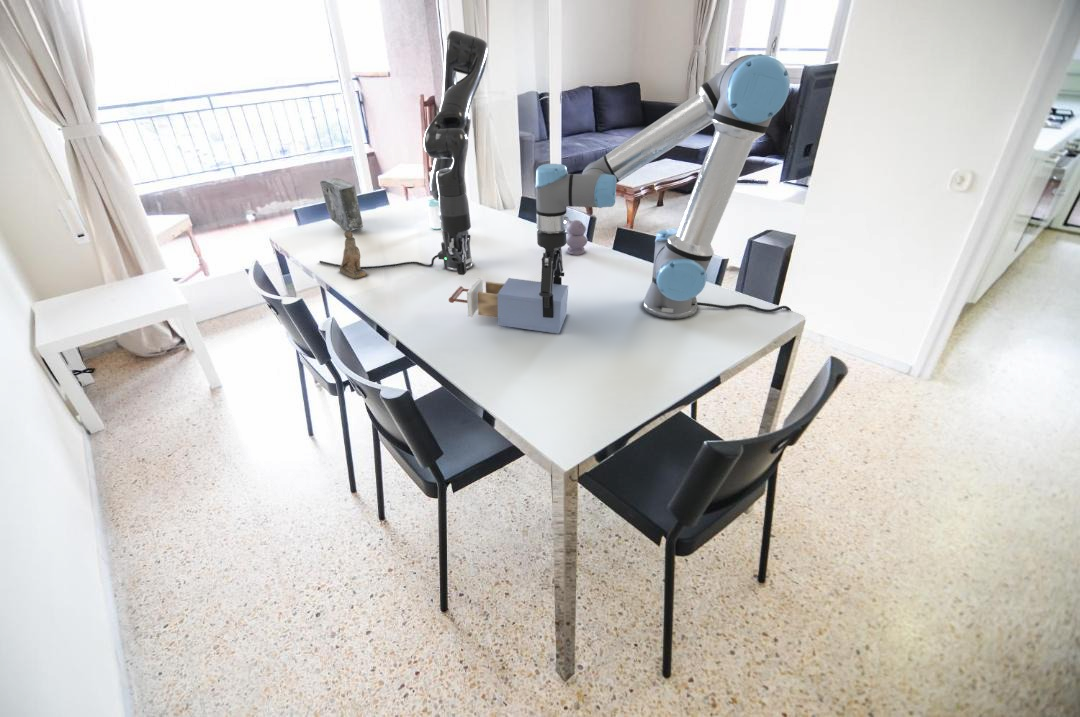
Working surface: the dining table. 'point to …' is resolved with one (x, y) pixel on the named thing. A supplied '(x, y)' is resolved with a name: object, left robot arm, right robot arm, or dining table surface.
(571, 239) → the lavender rounded piece
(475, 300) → the drawer
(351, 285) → the dining table surface
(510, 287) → the cabinet
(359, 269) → the worn brown figurine
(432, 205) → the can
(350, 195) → the concrete block
